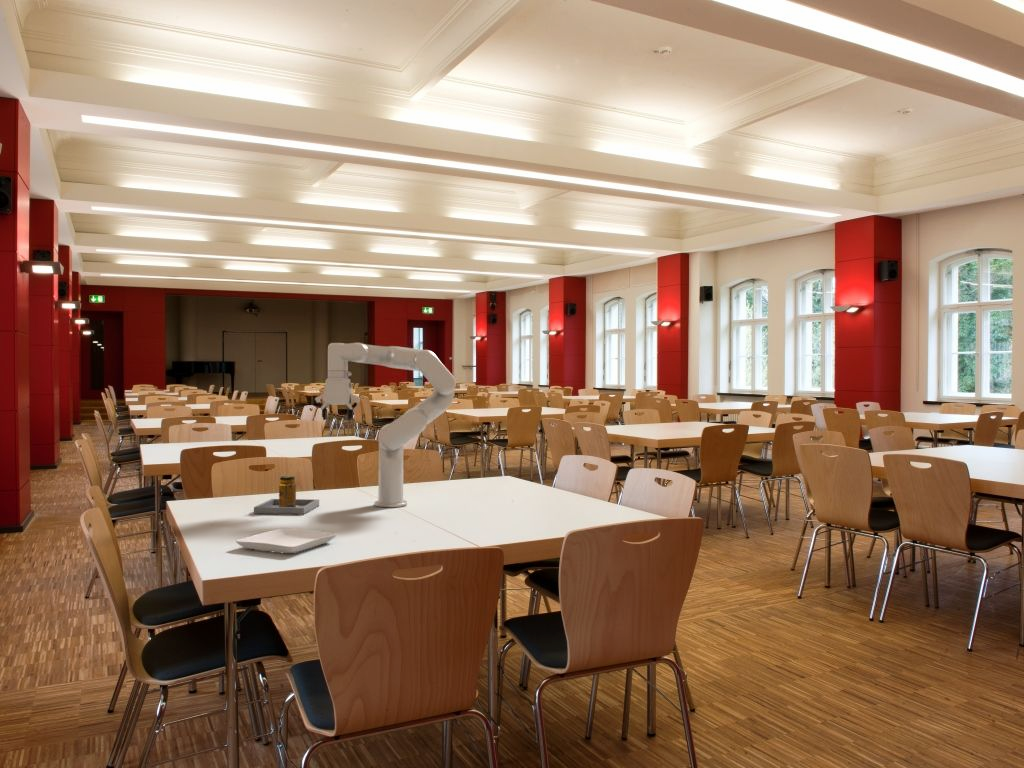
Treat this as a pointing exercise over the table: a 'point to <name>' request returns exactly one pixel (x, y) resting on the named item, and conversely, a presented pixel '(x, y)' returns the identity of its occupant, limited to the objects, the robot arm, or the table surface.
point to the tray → (274, 508)
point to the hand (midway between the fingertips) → (337, 419)
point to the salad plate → (286, 540)
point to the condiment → (287, 492)
